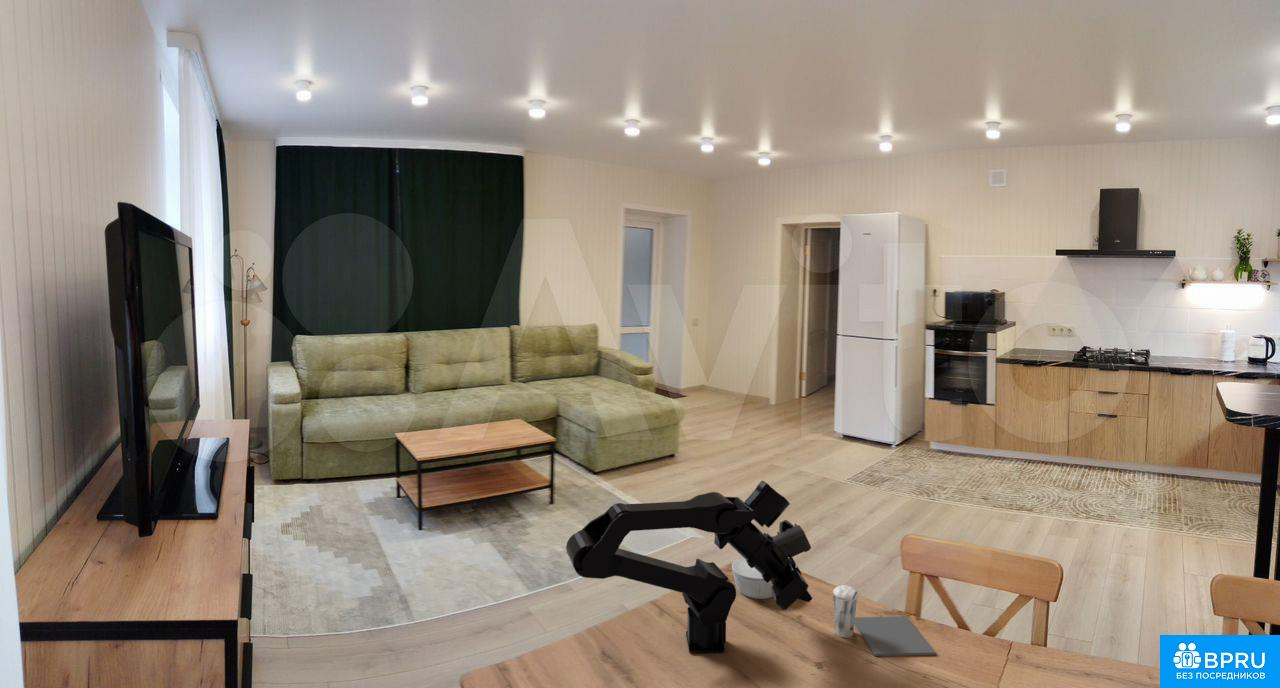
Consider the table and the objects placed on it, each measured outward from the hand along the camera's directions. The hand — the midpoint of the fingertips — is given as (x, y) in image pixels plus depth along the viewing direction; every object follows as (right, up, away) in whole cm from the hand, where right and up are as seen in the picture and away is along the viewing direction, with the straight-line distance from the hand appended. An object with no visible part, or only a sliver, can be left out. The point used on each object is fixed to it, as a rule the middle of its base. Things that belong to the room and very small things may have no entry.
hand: (810, 599), depth 124 cm
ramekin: (-7, -5, +19) cm, 20 cm away
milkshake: (+7, -7, +1) cm, 10 cm away
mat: (+15, -7, 0) cm, 17 cm away
